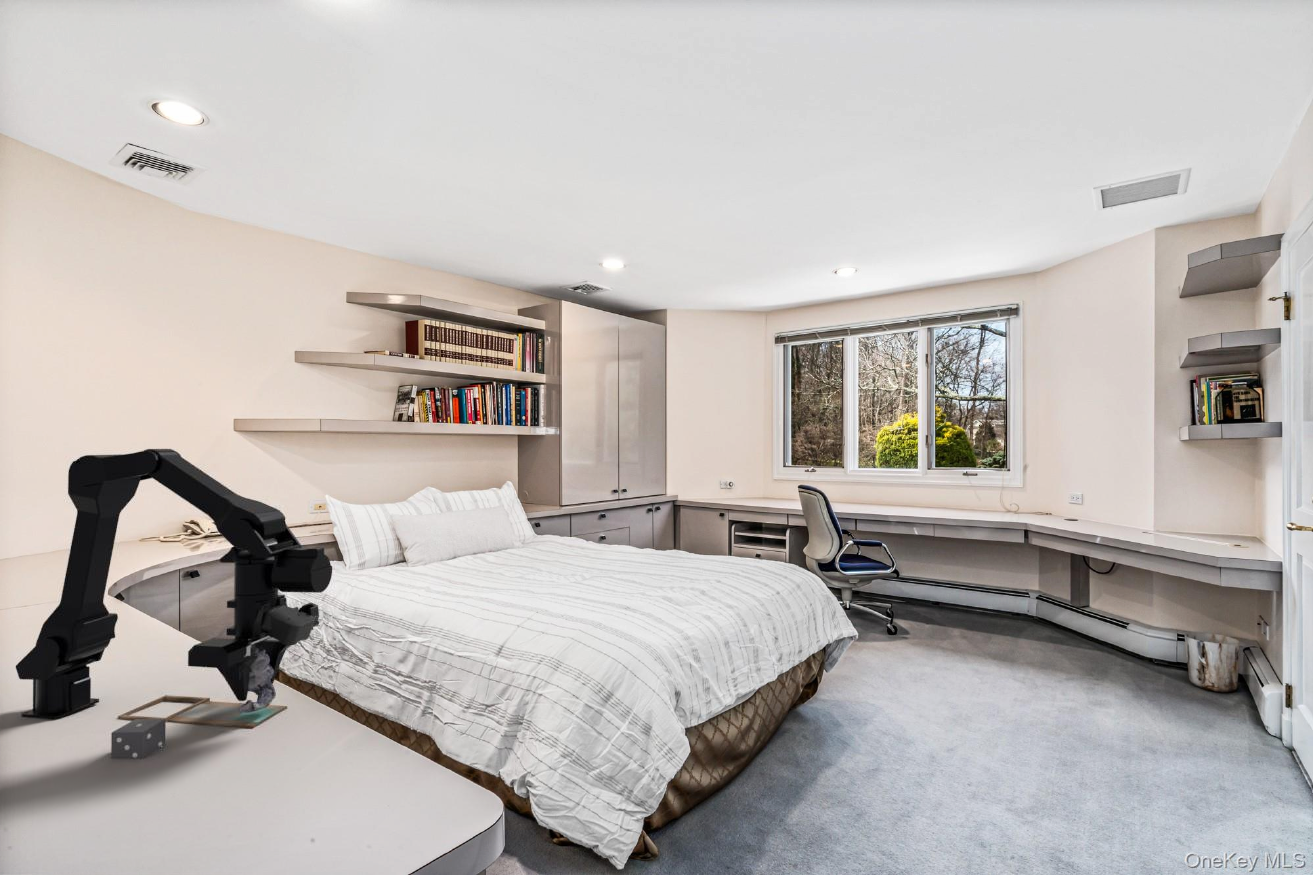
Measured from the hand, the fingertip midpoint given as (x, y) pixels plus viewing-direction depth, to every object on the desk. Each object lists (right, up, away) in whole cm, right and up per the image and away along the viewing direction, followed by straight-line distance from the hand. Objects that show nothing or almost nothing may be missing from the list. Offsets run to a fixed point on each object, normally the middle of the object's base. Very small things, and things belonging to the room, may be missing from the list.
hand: (255, 693), depth 96 cm
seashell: (0, -3, 0) cm, 3 cm away
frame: (-15, -3, +2) cm, 16 cm away
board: (-5, -3, +1) cm, 6 cm away
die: (-8, -4, -12) cm, 15 cm away
